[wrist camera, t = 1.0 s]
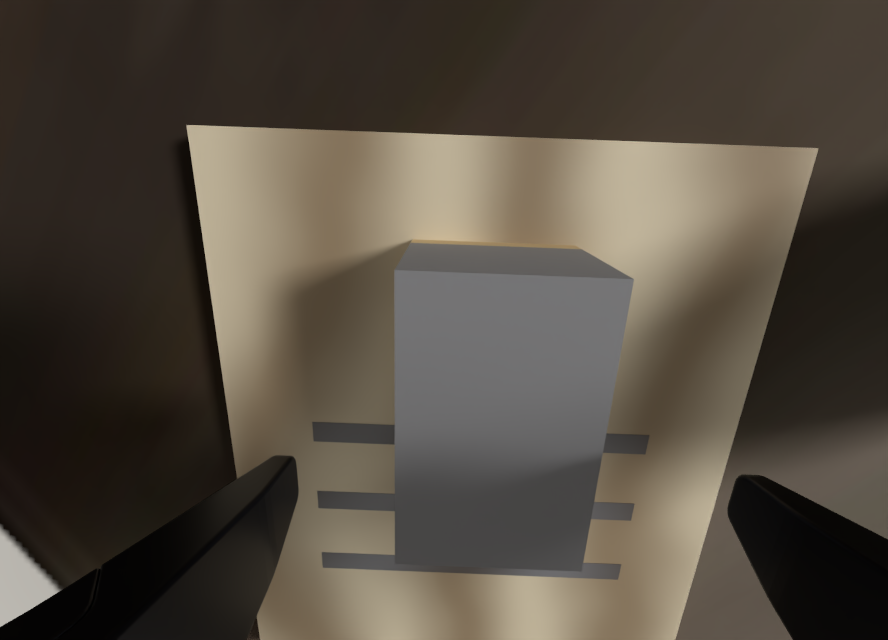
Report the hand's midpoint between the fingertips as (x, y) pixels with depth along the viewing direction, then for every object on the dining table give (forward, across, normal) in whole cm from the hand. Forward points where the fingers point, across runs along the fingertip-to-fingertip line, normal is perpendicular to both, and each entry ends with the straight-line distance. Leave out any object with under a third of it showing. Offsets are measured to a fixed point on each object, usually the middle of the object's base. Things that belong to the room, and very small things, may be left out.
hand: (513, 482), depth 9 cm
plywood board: (+7, 0, +4) cm, 8 cm away
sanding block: (+6, 0, 0) cm, 6 cm away
